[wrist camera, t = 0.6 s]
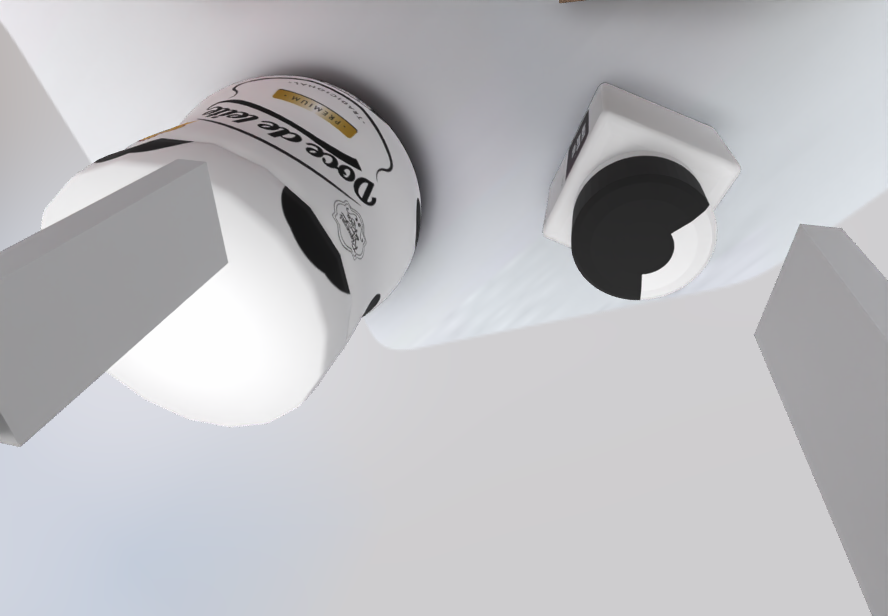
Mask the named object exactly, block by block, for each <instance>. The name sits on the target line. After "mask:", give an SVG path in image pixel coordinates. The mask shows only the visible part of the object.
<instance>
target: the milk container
mask: <svg viewBox="0 0 888 616" xmlns="http://www.w3.org/2000/svg"><path fill="white" fill-rule="evenodd" d="M176 159H185V160H194V161H204V162H207V166H208V171H209V176H210V180H211V185H212V190H213V194H214V199H215V203H216V208H217V213H218V217H219V222H220V227H221V231H222V236H223V241H224V245H225V250H226V254H227V259H228V264H227V265H225V266H224V267H223V268H222V269H221V270H220V271H219V272H218V273H216V274H215V275H214V276H213V277H212V278H211V279H210V280H208V281H207V282H206V283H205V284H204V285H203V286H202V287H201V288H199V289H198V290H197V291H196V292H195V293H194V294H193V295H192V296H190V297H189V298H188V299H187V300H186V301H185V302H184V303H183V304H181V305H180V306H179V307H178V308H177V309H176V310H175V311H173V312H172V313H171V314H170V315H169V316H168V317H167V318H166V319H164V320H163V321H162V322H161V323H160V324H159V325H158V326H157V327H155V328H154V329H153V330H152V331H151V332H150V333H149V334H147V335H146V336H145V337H144V338H143V339H142V340H141V341H140V342H138V343H137V344H136V345H135V346H134V347H133V348H132V349H131V350H129V351H128V352H127V353H126V354H125V355H124V356H123V357H122V358H120V359H119V360H118V361H117V362H116V363H115V364H114V365H112V366H111V367H110V368H109V369H108V370H107V371H106V372H107V373H108V374H110V375H111V376H113V377H114V378H115V379H117V380H118V381H120V382H121V383H122V384H124V385H125V386H127V387H128V388H129V389H131V390H132V391H133V392H135V393H136V394H138V395H139V396H140V397H142V398H143V399H145V400H146V401H149V402H151V403H153V404H155V405H158V406H160V407H162V408H164V409H166V410H169V411H171V412H173V413H175V414H177V415H180V416H182V417H184V418H186V419H190V420H195V421H200V422H205V423H210V424H215V425H220V426H225V427H238V426H248V425H258V424H268V423H269V422H271V421H273V420H275V419H277V418H279V417H281V416H283V415H284V414H286V413H288V412H290V411H292V410H294V409H296V408H298V407H299V406H300V405H301V404H302V403H303V402H304V401H305V400H306V399H307V398H308V397H309V395H310V394H311V393H312V392H313V391H314V390H315V388H316V387H317V386H318V385H319V383H320V382H321V380H322V379H323V377H324V376H325V374H326V373H327V371H328V370H329V369H330V367H331V366H332V364H333V363H334V361H335V360H336V358H337V357H338V356H339V355H340V353H341V352H342V351H343V349H344V348H345V346H346V344H347V343H348V341H349V339H350V338H351V336H352V334H353V333H354V331H355V329H356V327H357V325H358V323H359V322H360V320H361V318H362V317H363V316H365V315H366V314H368V313H369V312H371V311H372V310H374V309H375V308H376V307H377V306H378V305H380V304H381V303H382V302H383V301H384V300H385V299H386V298H387V297H388V296H389V295H390V294H391V293H392V292H393V290H394V289H395V288H396V286H397V285H398V284H399V283H400V281H401V279H402V278H403V276H404V274H405V273H406V271H407V269H408V267H409V265H410V262H411V260H412V257H413V254H414V251H415V248H416V244H417V241H418V236H419V229H420V222H421V199H420V191H419V186H418V181H417V178H416V175H415V171H414V169H413V166H412V163H411V161H410V159H409V157H408V155H407V153H406V151H405V149H404V147H403V146H402V144H401V142H400V141H399V139H398V138H397V136H396V135H395V133H394V132H393V131H392V130H391V128H390V127H389V126H388V125H387V123H386V122H385V121H384V120H383V119H382V118H381V117H380V116H379V115H378V114H377V113H376V112H375V111H374V110H372V109H371V108H370V107H369V106H368V105H366V104H365V103H364V102H363V101H361V100H360V99H358V98H357V97H355V96H354V95H352V94H350V93H349V92H347V91H345V90H343V89H341V88H339V87H337V86H334V85H332V84H330V83H327V82H323V81H320V80H317V79H312V78H307V77H300V76H284V75H276V76H263V77H257V78H252V79H247V80H244V81H240V82H237V83H234V84H232V85H229V86H227V87H225V88H222V89H221V90H219V91H217V92H215V93H214V94H212V95H210V96H209V97H207V98H206V99H205V100H203V101H202V102H201V103H199V104H198V105H197V106H196V107H195V108H194V109H193V110H192V111H191V112H190V113H189V114H188V115H187V116H186V118H185V119H184V120H183V121H182V122H181V123H180V125H179V126H176V127H174V128H171V129H168V130H165V131H162V132H159V133H157V134H154V135H152V136H149V137H147V138H144V139H142V140H139V141H137V142H136V143H134V144H132V145H130V146H129V147H128V148H126V149H125V150H123V151H120V152H117V153H114V154H111V155H108V156H106V157H103V158H101V159H99V160H97V161H96V162H94V163H92V164H91V165H89V166H88V167H86V168H84V169H83V170H81V171H79V172H78V173H77V174H76V175H74V176H73V177H72V178H71V179H70V180H69V181H68V182H67V183H66V184H65V185H64V187H63V188H62V189H61V190H60V191H59V192H58V194H57V195H56V196H55V197H54V198H53V200H52V201H51V202H50V203H49V205H48V206H47V207H46V208H45V209H44V211H43V218H42V223H41V230H43V229H45V228H47V227H48V226H50V225H52V224H54V223H56V222H58V221H60V220H62V219H64V218H66V217H68V216H69V215H71V214H73V213H75V212H77V211H79V210H81V209H83V208H85V207H87V206H89V205H90V204H92V203H94V202H96V201H98V200H100V199H102V198H104V197H106V196H108V195H110V194H111V193H113V192H115V191H117V190H119V189H121V188H123V187H125V186H127V185H129V184H131V183H132V182H134V181H136V180H138V179H140V178H142V177H144V176H146V175H148V174H150V173H152V172H153V171H155V170H157V169H159V168H161V167H163V166H165V165H167V164H169V163H171V162H173V161H174V160H176ZM41 230H40V231H41Z"/></svg>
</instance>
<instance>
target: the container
mask: <svg viewBox="0 0 888 616" xmlns="http://www.w3.org/2000/svg"><path fill="white" fill-rule="evenodd" d="M740 172H741V167H740V165H739V163H738V162H737V160H736V159H735V158H734V156H733V155H732V153H731V152H730V150H729V149H728V147H727V146H726V145H725V143H724V142H723V140H722V139H721V137H720V136H719V135H718V133H717V132H716V130H715V129H714V128H713V127H710V126H708V125H706V124H703V123H701V122H698V121H696V120H694V119H691V118H689V117H686V116H684V115H682V114H679V113H677V112H675V111H672V110H670V109H667V108H665V107H663V106H660V105H658V104H655V103H653V102H651V101H648V100H646V99H644V98H641V97H639V96H636V95H634V94H632V93H629V92H627V91H625V90H622V89H620V88H617V87H615V86H613V85H610V84H608V83H603V84H601V85H600V86H599V87H598V89H597V91H596V93H595V95H594V97H593V99H592V101H591V103H590V105H589V107H588V109H587V112H586V114H585V116H584V118H583V120H582V122H581V124H580V126H579V128H578V130H577V132H576V134H575V136H574V138H573V140H572V142H571V145H570V147H569V149H568V151H567V153H566V155H565V157H564V159H563V161H562V163H561V165H560V167H559V169H558V171H557V173H556V175H555V178H554V180H553V182H552V184H551V186H550V189H549V195H548V201H547V207H546V213H545V219H544V224H543V230H542V233H543V235H544V236H545V237H546V238H548V239H550V240H553V241H555V242H557V243H560V244H562V245H565V246H567V247H569V248H571V249H572V255H573V258H574V261H575V264H576V265H577V267H578V269H579V271H580V272H581V274H582V275H583V276H584V278H585V279H586V280H587V281H588V282H589V283H591V284H592V285H593V286H594V287H596V288H597V289H599V290H601V291H602V292H604V293H607V294H609V295H611V296H615V297H618V298H622V299H629V300H648V299H654V298H659V297H662V296H666V295H669V294H671V293H673V292H676V291H678V290H680V289H681V288H683V287H685V286H686V285H688V284H689V283H690V282H692V281H693V280H694V279H695V278H696V277H697V276H698V275H699V274H700V273H701V272H702V271H703V269H704V268H705V267H706V266H707V264H708V262H709V260H710V259H711V257H712V254H713V252H714V249H715V245H716V241H717V223H716V219H715V215H714V210H715V209H716V207H717V206H718V204H719V203H720V202H721V200H722V199H723V197H724V196H725V194H726V193H727V191H728V190H729V189H730V187H731V186H732V184H733V183H734V181H735V180H736V179H737V177H738V176H739V174H740Z"/></svg>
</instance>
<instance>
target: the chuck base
mask: <svg viewBox="0 0 888 616" xmlns="http://www.w3.org/2000/svg"><path fill="white" fill-rule="evenodd" d="M575 1H584V0H559V3H566V2H575Z"/></svg>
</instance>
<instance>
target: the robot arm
mask: <svg viewBox="0 0 888 616" xmlns="http://www.w3.org/2000/svg"><path fill="white" fill-rule="evenodd" d="M227 264H228V259H227V254H226V250H225V245H224V241H223V236H222V231H221V227H220V222H219V217H218V213H217V208H216V203H215V199H214V194H213V190H212V185H211V180H210V176H209V171H208V166H207V162H204V161H194V160H185V159H176V160H174V161H173V162H171V163H169V164H167V165H165V166H163V167H161V168H159V169H157V170H155V171H153V172H152V173H150V174H148V175H146V176H144V177H142V178H140V179H138V180H136V181H134V182H132V183H131V184H129V185H127V186H125V187H123V188H121V189H119V190H117V191H115V192H113V193H111V194H110V195H108V196H106V197H104V198H102V199H100V200H98V201H96V202H94V203H92V204H90V205H89V206H87V207H85V208H83V209H81V210H79V211H77V212H75V213H73V214H71V215H69V216H68V217H66V218H64V219H62V220H60V221H58V222H56V223H54V224H52V225H50V226H48V227H47V228H45V229H43V230H41V231H39V232H37V233H35V234H33V235H31V236H30V237H28V238H26V239H24V240H22V241H20V242H18V243H16V244H14V245H12V246H10V247H8V248H7V249H5V250H3V251H1V252H0V443H4V444H8V445H13V446H18V447H21V446H22V445H23V444H24V443H25V442H27V441H28V440H29V439H30V438H31V437H32V436H33V435H35V434H36V433H37V432H38V431H39V430H40V429H41V428H42V427H44V426H45V425H46V424H47V423H48V422H49V421H50V420H51V419H53V418H54V417H55V416H56V415H57V414H58V413H59V412H61V411H62V410H63V409H64V408H65V407H66V406H67V405H68V404H69V403H71V402H72V401H73V400H74V399H75V398H76V397H77V396H79V395H80V394H81V393H82V392H83V391H84V390H85V389H87V387H89V386H90V385H91V384H92V383H93V382H94V381H96V380H97V379H98V378H99V377H100V376H101V375H102V374H103V373H105V372H106V371H107V370H108V369H109V368H110V367H111V366H112V365H114V364H115V363H116V362H117V361H118V360H119V359H120V358H122V357H123V356H124V355H125V354H126V353H127V352H128V351H129V350H131V349H132V348H133V347H134V346H135V345H136V344H137V343H138V342H140V341H141V340H142V339H143V338H144V337H145V336H146V335H147V334H149V333H150V332H151V331H152V330H153V329H154V328H155V327H157V326H158V325H159V324H160V323H161V322H162V321H163V320H164V319H166V318H167V317H168V316H169V315H170V314H171V313H172V312H173V311H175V310H176V309H177V308H178V307H179V306H180V305H181V304H183V303H184V302H185V301H186V300H187V299H188V298H189V297H190V296H192V295H193V294H194V293H195V292H196V291H197V290H198V289H199V288H201V287H202V286H203V285H204V284H205V283H206V282H207V281H208V280H210V279H211V278H212V277H213V276H214V275H215V274H216V273H218V272H219V271H220V270H221V269H222V268H223V267H224V266H225V265H227ZM754 336H755V338H756V341H757V343H758V345H759V348H760V350H761V352H762V355H763V357H764V359H765V362H766V364H767V367H768V369H769V371H770V374H771V376H772V378H773V381H774V383H775V386H776V388H777V390H778V393H779V395H780V397H781V400H782V402H783V405H784V407H785V410H786V412H787V414H788V417H789V419H790V421H791V424H792V426H793V428H794V431H795V433H796V435H797V438H798V440H799V443H800V445H801V448H802V450H803V452H804V455H805V457H806V459H807V462H808V464H809V466H810V469H811V471H812V474H813V476H814V479H815V481H816V483H817V486H818V488H819V490H820V493H821V495H822V498H823V500H824V502H825V505H826V507H827V509H828V512H829V514H830V517H831V519H832V521H833V524H834V526H835V528H836V531H837V533H838V536H839V538H840V540H841V543H842V545H843V547H844V550H845V552H846V555H847V557H848V559H849V562H850V564H851V567H852V569H853V571H854V574H855V576H856V578H857V581H858V583H859V586H860V588H861V590H862V593H863V595H864V597H865V600H866V602H867V604H868V607H869V609H870V612H871V614H872V616H888V280H887V279H886V278H885V277H884V276H883V274H882V273H881V272H880V271H879V270H878V269H877V268H876V267H875V265H874V264H873V263H872V262H871V261H870V260H869V259H868V258H867V257H866V255H865V254H864V253H863V252H862V251H861V250H860V248H859V247H858V246H857V245H856V244H855V243H854V242H853V241H852V239H851V238H850V237H849V236H848V235H847V234H846V233H845V232H844V231H843V229H841V228H833V227H824V226H814V225H805V224H800V225H799V227H798V230H797V232H796V235H795V237H794V240H793V242H792V244H791V247H790V249H789V252H788V254H787V257H786V259H785V261H784V264H783V266H782V269H781V271H780V274H779V276H778V278H777V281H776V283H775V286H774V288H773V291H772V293H771V295H770V298H769V300H768V303H767V305H766V308H765V310H764V312H763V315H762V317H761V320H760V322H759V324H758V327H757V329H756V332H755V334H754Z"/></svg>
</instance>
